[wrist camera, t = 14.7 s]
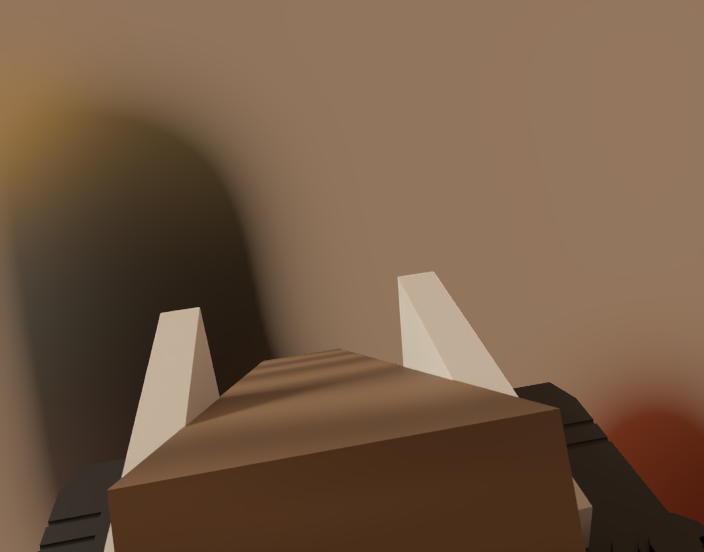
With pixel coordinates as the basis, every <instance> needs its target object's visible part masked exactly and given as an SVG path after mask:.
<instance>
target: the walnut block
mask: <svg viewBox="0 0 704 552" xmlns="http://www.w3.org/2000/svg"><path fill="white" fill-rule="evenodd" d="M107 497H108V505H109V513H110V521H111V529H112V537H113V544H114V552H586V549H585V544H584V538H583V533H582V527H581V522H580V517H579V511H578V506H577V500H576V495H575V489H574V484H573V478H572V473H571V468H570V462H569V457H568V451H567V446H566V440H565V435H564V430H563V424H562V419H561V413H560V408H556V407H552V406H548V405H545V404H541V403H537V402H534V401H530V400H526V399H523V398H519V397H515V396H512V395H508V394H504V393H500V392H497V391H493V390H489V389H486V388H482V387H478V386H475V385H471V384H467V383H464V382H460V381H456V380H450V379H447V378H443V377H439V376H436V375H432V374H429V373H425V372H421V371H418V370H414V369H410V368H407V367H404V366H401V365H397V364H393V363H389V362H386V361H382V360H378V359H375V358H371V357H367V356H364V355H360V354H356V353H352V352H349V351H345V350H341V349H335V350H329V351H323V352H316V353H310V354H305V355H298V356H292V357H286V358H280V359H274V360H268V361H263V362H262V363H261V364H259V365H258V366H257V367H256V368H254V369H253V370H252V371H251V372H249V374H247V375H246V376H245V377H244V378H242V379H241V380H240V381H239V382H237V383H236V384H235V385H234V386H233V387H231V388H230V389H229V390H228V391H226V392H225V393H224V394H223V395H222V396H221V397H220V398H219V399H218V400H216V401H215V402H214V403H213V404H212V405H210V406H209V407H208V408H207V409H206V410H204V411H203V412H202V413H201V414H200V415H198V416H197V417H196V418H195V419H194V420H192V421H191V422H190V423H189V424H188V425H186V426H185V427H183V428H182V429H180V430H179V431H178V432H177V433H176V434H174V435H173V436H172V437H171V438H170V439H168V440H167V441H166V442H165V443H164V444H162V445H161V446H160V447H159V448H157V449H156V450H155V451H154V452H153V453H151V454H150V455H149V456H148V457H147V458H145V459H144V460H143V461H142V462H141V463H139V464H138V465H137V466H136V467H134V468H133V469H132V470H131V471H130V472H128V473H127V474H126V475H125V476H124V477H122V478H121V479H120V480H119V481H117V482H116V483H115V484H114V485H113V486H111V487H110V488H109V489H108V490H107Z"/></svg>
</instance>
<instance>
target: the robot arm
mask: <svg viewBox="0 0 704 552" xmlns="http://www.w3.org/2000/svg"><path fill="white" fill-rule="evenodd" d="M398 290H399V305H400V319H401V335H402V348H403V349H402V350H403V365H404V367H407V368H410V369H414V370H418V371H421V372H425V373H429V374H432V375H436V376H439V377H443V378H447V379H450V380H456V381H460V382H464V383H467V384H471V385H475V386H478V387H482V388H486V389H489V390H493V391H497V392H500V393H504V394H508V395H512V396H515V397H519V398H523V399H526V400H530V401H534V402H537V403H541V404H545V405H548V406H552V407H556V408H560V413H561V419H562V424H563V430H564V435H565V440H566V446H567V451H568V457H569V462H570V468H571V473H572V478H573V484H574V489H575V495H576V500H577V506H578V511H579V517H580V522H581V527H582V533H583V538H584V544H585V549H586V552H704V526H703V525H702V524H700V523H699V522H697V521H694V520H692V519H689V518H686V517H683V516H681V515H678V514H675V513H669V512H668V511H667V510H666V509H665V508H664V506H663V505H662V504H661V502H660V501H659V500H658V499H657V497H656V496H655V495H654V494H653V493H652V491H651V490H650V489H649V488H648V486H647V485H646V484H645V483H644V481H643V480H642V479H641V478H640V477H639V475H638V474H637V473H636V472H635V470H634V469H633V468H632V467H631V465H630V464H629V463H628V462H627V461H626V459H625V458H624V457H623V456H622V454H621V453H620V452H619V451H618V449H617V448H616V447H615V446H614V444H613V443H612V442H609V441H608V439H607V436H606V435H605V433H604V432H603V431H602V430H601V428H600V427H599V426H598V425H597V424H594V422H593V419H592V417H591V416H590V415H589V414H588V413H587V411H586V410H585V409H584V408H583V406H582V405H581V404H580V403H579V401H578V400H577V399H576V398H574V397H573V396H571V395H570V394H568V393H566V392H565V391H563V390H561V389H560V388H558V387H557V386H555V385H553V384H552V383H550V382H548V383H543V384H537V385H531V386H525V387H520V388H514V389H513V388H512V387H511V385H510V384H509V382H508V381H507V380H506V378H505V376H504V375H503V373H502V372H501V371H500V369H499V368H498V366H497V365H496V363H495V362H494V360H493V359H492V357H491V356H490V354H489V353H488V351H487V350H486V348H485V347H484V345H483V344H482V342H481V341H480V339H479V338H478V336H477V335H476V333H475V332H474V330H473V329H472V328H471V326H470V325H469V323H468V322H467V320H466V319H465V317H464V316H463V314H462V313H461V311H460V310H459V308H458V307H457V305H456V304H455V302H454V301H453V299H452V298H451V296H450V295H449V293H448V292H447V290H446V289H445V288H444V286H443V284H442V283H441V282H440V280H439V279H438V277H437V276H436V274H435V273H434V272H426V273H419V274H413V275H407V276H400V277H398ZM219 398H220V397H219V393H218V388H217V384H216V379H215V375H214V370H213V365H212V361H211V356H210V352H209V347H208V343H207V338H206V334H205V329H204V325H203V320H202V316H201V311H200V307H198V308H191V309H185V310H179V311H172V312H165V313H161V314H160V318H159V323H158V327H157V331H156V335H155V339H154V344H153V348H152V352H151V356H150V360H149V364H148V369H147V373H146V377H145V382H144V386H143V390H142V394H141V398H140V402H139V406H138V410H137V415H136V419H135V423H134V427H133V432H132V436H131V440H130V445H129V448H128V452H127V456H126V459H123V460H117V461H111V462H106V463H100V464H94V465H89V466H83V467H80V468H79V469H78V471H77V472H76V473H75V474H74V476H73V477H72V478H71V479H70V480H69V481H68V483H67V484H66V485H65V486H64V487H63V488H62V490H61V491H60V492H59V493H58V496H57V498H56V502H55V504H54V507H53V510H52V513H51V515H50V518H49V521H48V523H49V526H48V527H46V529H45V532H44V535H43V538H42V541H41V544H40V551H38V552H114V544H113V537H112V529H111V521H110V513H109V505H108V497H107V490H108V489H109V488H110V487H111V486H113V485H114V484H115V483H116V482H117V481H119V480H120V479H121V478H122V477H124V476H125V475H126V474H127V473H128V472H130V471H131V470H132V469H133V468H134V467H136V466H137V465H138V464H139V463H141V462H142V461H143V460H144V459H145V458H147V457H148V456H149V455H150V454H151V453H153V452H154V451H155V450H156V449H157V448H159V447H160V446H161V445H162V444H164V443H165V442H166V441H167V440H168V439H170V438H171V437H172V436H173V435H174V434H176V433H177V432H178V431H179V430H180V429H182V428H183V427H185V426H186V425H188V424H189V423H190V422H191V421H192V420H194V419H195V418H196V417H197V416H198V415H200V414H201V413H202V412H203V411H204V410H206V409H207V408H208V407H209V406H210V405H212V404H213V403H214V402H215V401H216V400H218V399H219Z"/></svg>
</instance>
